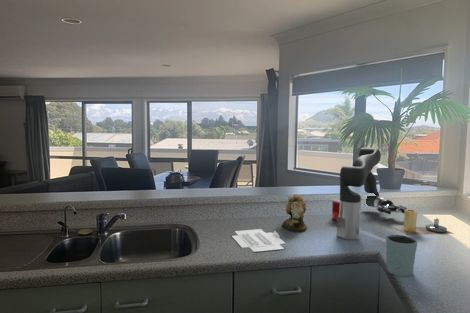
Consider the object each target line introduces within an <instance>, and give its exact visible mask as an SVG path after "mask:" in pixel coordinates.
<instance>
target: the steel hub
mask: <svg viewBox="0 0 470 313" xmlns="http://www.w3.org/2000/svg"><path fill="white" fill-rule="evenodd" d="M439 224H440V219H439V218H438V217H436V218H434V219H433V224H431V223H430V224H425V226H424V227H425V229H426V230H428V231H431V232H436V233H446V232H447V231H448V228H447V227H446V226H443V225H439Z"/></svg>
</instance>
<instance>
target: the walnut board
mask: <svg viewBox="0 0 470 313" xmlns="http://www.w3.org/2000/svg"><path fill="white" fill-rule="evenodd" d="M425 227H426V226H416V232H414V233H411V232H406V231H404V230H403V228H404V226H403V227H394V229H395V230H396V231H399V232H400V233H402V234H405V236H415V235H444V234H445V235H450V234H454V233H453V232H452V231H449V230H447V232H446V233H436V232H431V231H428V230H426V229H425Z"/></svg>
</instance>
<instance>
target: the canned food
mask: <svg viewBox="0 0 470 313" xmlns="http://www.w3.org/2000/svg"><path fill="white" fill-rule="evenodd" d="M331 207H332V210H331V211H332V212H331V219H332V220H333V221H335V222H337V216H339V207H340V198H333V199H332V206H331Z"/></svg>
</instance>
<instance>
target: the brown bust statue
mask: <svg viewBox="0 0 470 313" xmlns="http://www.w3.org/2000/svg"><path fill="white" fill-rule="evenodd" d="M287 200H288V201H287V203H286V206H285V212H286V214H287V215H289V216H290V217H289V218H288V219H285V220H284V221H283V222H282V226H281V227H283V229H284V230H286V231H288V232H293V233H303V232H306V231H307V229H308V226H307V225H306V224H305V222H304V218H305V217H304V216H305V215H304V214H305V213H306V211H307V204H306V202H305V200H304V198H303V196H302V195H301V194H299V193H296V194H295V193H294V194H293V195H291V196H289V197H288V199H287Z"/></svg>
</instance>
